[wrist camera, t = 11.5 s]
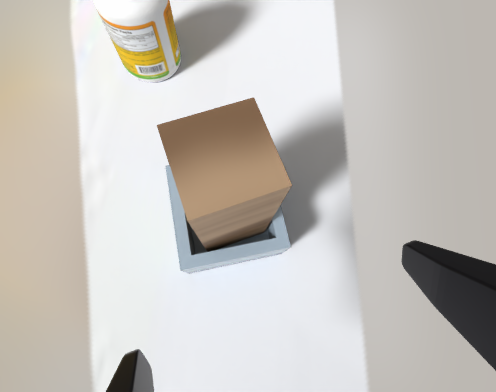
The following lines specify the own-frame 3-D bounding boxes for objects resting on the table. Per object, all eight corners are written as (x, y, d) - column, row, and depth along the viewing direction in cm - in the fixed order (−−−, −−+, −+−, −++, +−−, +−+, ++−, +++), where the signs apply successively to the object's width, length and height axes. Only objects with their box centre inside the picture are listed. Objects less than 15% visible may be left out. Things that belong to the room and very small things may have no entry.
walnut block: (263, 232, 23) (292, 185, 12) (208, 252, 22) (187, 221, 12) (243, 180, 24) (253, 97, 13) (190, 198, 23) (156, 125, 13)
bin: (281, 253, 23) (291, 247, 20) (189, 273, 23) (180, 270, 19) (260, 169, 25) (266, 148, 22) (175, 184, 25) (165, 166, 21)
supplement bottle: (152, 29, 29) (115, -91, 20) (193, 58, 28) (175, -53, 19) (111, 63, 28) (52, -49, 19) (154, 94, 27) (114, -6, 18)
